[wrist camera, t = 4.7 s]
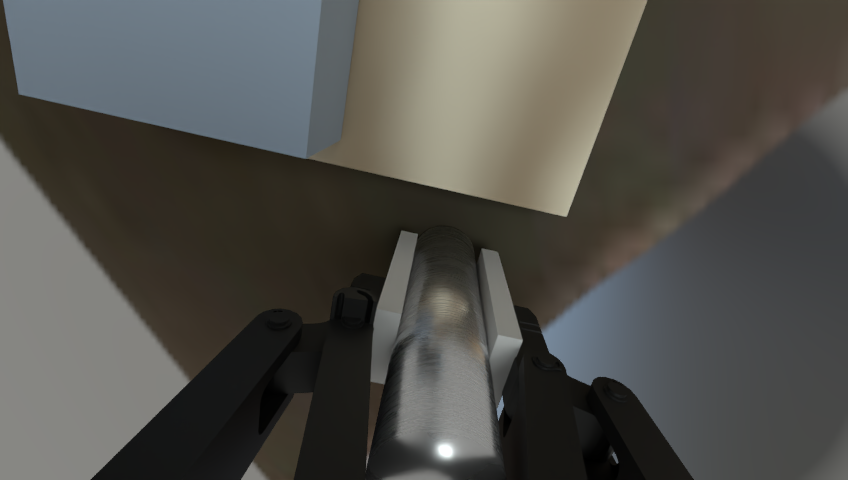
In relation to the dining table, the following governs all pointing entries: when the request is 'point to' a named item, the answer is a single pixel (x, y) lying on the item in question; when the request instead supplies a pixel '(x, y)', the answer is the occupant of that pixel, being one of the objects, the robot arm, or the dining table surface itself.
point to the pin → (439, 374)
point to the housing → (194, 64)
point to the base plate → (483, 93)
